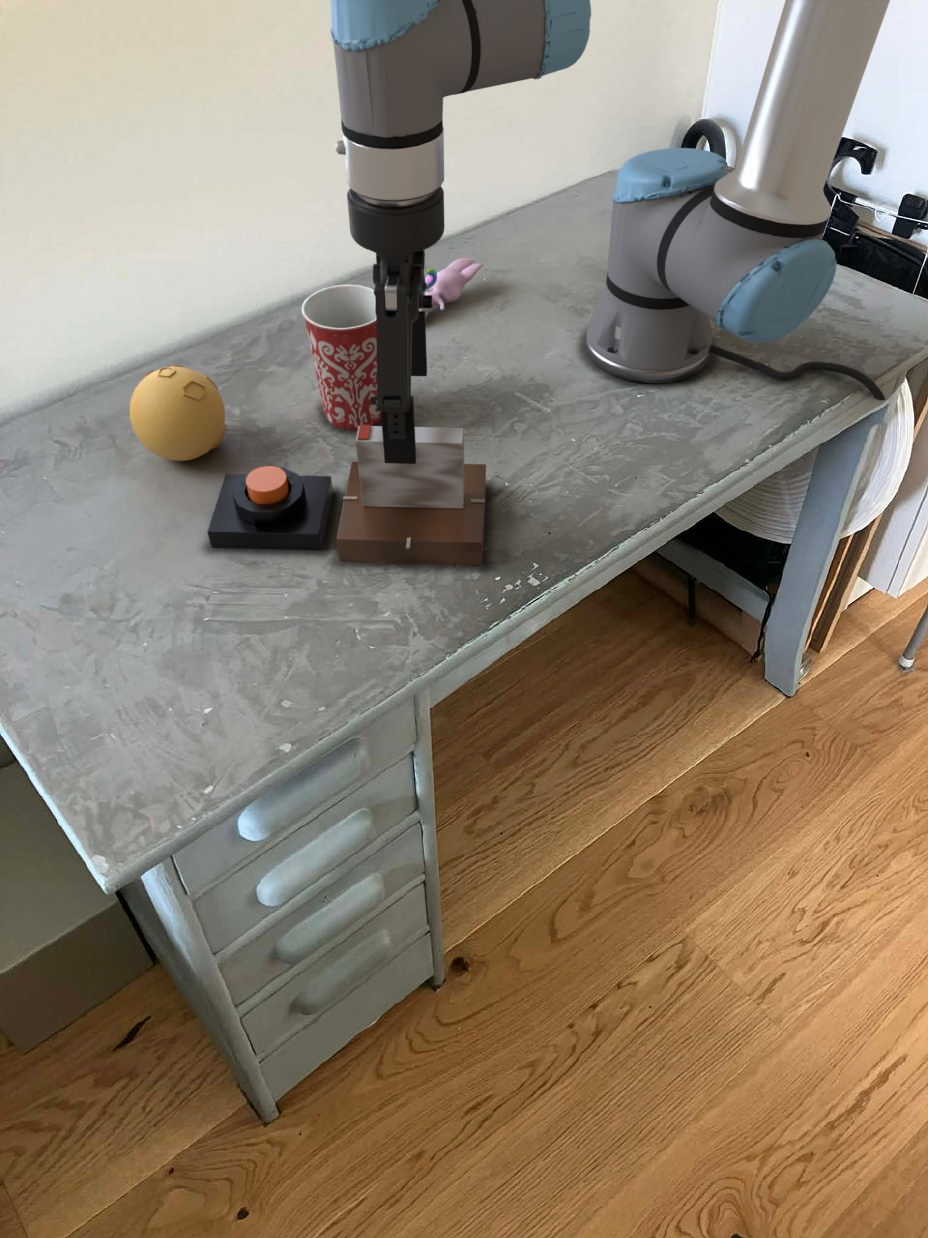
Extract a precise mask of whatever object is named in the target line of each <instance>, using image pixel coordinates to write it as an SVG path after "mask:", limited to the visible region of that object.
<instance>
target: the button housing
mask: <svg viewBox="0 0 928 1238" xmlns="http://www.w3.org/2000/svg"><path fill="white" fill-rule="evenodd" d="M279 468H280V469H282V470H283V471H284V472H285V473H286V476H287V482H288V488H289V493H288V495H287V497H286V498H284V499H283V500H282V501H279V502H276V503H273V504H257V503H254V502H253V501H252V500H251V499H250V498H249V495H248V490H247V485H246V477H247V476H248V474H249V473H250V472H251V471H250V472H248V473H246V474H245V473H243V474H242V473H241V474H240V473H226V474H225V477H224V480H223V483H222V485H221V489H220V491H219V494H218V498H217V500H216V504H215V507H214V511H213V514H212V517H211V519H210V522H209V526H208V529H207V536H208V539H209V543H210V547H211V549H245V550H246V549H248V550H281V551H282V550H286V551H287V550H288V551H322V548H323V543H324V538H325V534H326V530H327V529H326V528H327V523H328V519H329V514H330V511H331V504H332V500H333V495H334V488H333V482H332V476H330V475H299V474H297V473H296V472H294V471H291V470H289V469H286V468H284V467H279Z"/></svg>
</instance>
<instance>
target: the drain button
mask: <svg viewBox="0 0 928 1238" xmlns="http://www.w3.org/2000/svg"><path fill="white" fill-rule="evenodd" d="M280 468H281V467H277V466H273V465H264V466H259V467H257V468H254V469H252V470H251V471H250V473H249V472H248V473H249V474H248V476H247V477H246V485H247V490H248V495H249V498H250V499H251V500H252V501H253V502H254V503H257V504H273V503H276V502H279V501H282V500H283V499H284V498H286V497H287V495H288V493H289V488H288V482H287V476H286V473H285V472H284V471H283V470H282V469H280Z"/></svg>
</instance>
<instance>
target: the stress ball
mask: <svg viewBox="0 0 928 1238" xmlns="http://www.w3.org/2000/svg"><path fill="white" fill-rule="evenodd" d="M129 403H130V404H129V420H130V424H131V428H132V430H133V432H134V435H135V436H136V438H137V440H138V441H139V442H140V443H141V444H142V446H143V447H145V448H146V449H147V450H148V451H150V452H151V453H153V455H156V456H157V457H160V458H162V459H166V460H168V461H169V460H170V461H174V462H183V461H190V460H194V459H197V458H200V457H201V456H203V455H205V454H207V453H208V452H209V451H210V450H215V449H216V448H217V447H218V446H219V445H220V443H221V442H222V441H223V440H224V439H223V438H224V436H225V434H226V431H227V424H226V409H225V403H224V401H223V398H222V395H221V394H220V392H219V389H218V387H217V385H216V384H215V382H214V381H213V380H212V379H211V378H210V377H208V376H207V375H205V374H202V373H200V372H198V371H196V370H193V369H190V368H187V367H184V366H182V365H170V366H165V367H161V368H159V369H157V370H152V371H149V373H146V374H145V375H144V376H142V380H140V382H139V383H138V384H137V385H136V387H135V389H134V390H133V393H132V395H131V398H130V402H129Z"/></svg>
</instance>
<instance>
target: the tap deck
mask: <svg viewBox="0 0 928 1238" xmlns="http://www.w3.org/2000/svg"><path fill="white" fill-rule="evenodd" d="M486 489H487V464H486V463H482V464H481V463H464V492H465V493H464V507H463V509H459V508H415V507H371V506H363V505H362V496H361V486H360V477H359V468H358V461H351V462H350V467H349V472H348V476H347V482H346V488H345V494H344V495H343V496H342V500H343V503H342V509H341V513H340V518H339V524H338V528H337V534H336V546H337V547H336V548H337V552H338V554H337V555H338V561H339V562H347V563H348V562H349V563H386V564H387V563H388V564H389V563H391V564H397V563H398V564H425V565H426V564H428V565H429V564H430V565H431V564H433V565H467V566H482V565H483V553H484V552H483V550H484V533H485V532H484V530H485V509H486Z"/></svg>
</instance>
